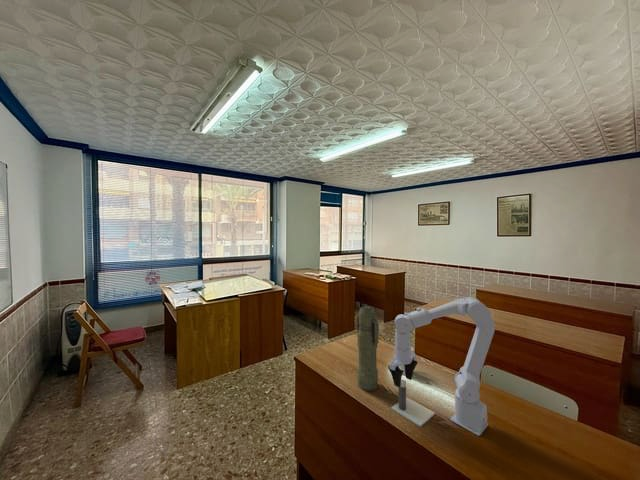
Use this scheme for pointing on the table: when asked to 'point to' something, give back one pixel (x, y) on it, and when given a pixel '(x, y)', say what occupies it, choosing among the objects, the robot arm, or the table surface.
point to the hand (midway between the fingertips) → (403, 382)
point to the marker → (402, 395)
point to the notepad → (414, 412)
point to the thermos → (367, 348)
